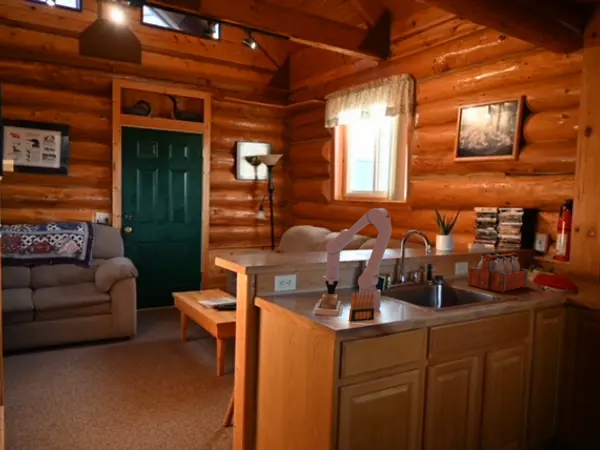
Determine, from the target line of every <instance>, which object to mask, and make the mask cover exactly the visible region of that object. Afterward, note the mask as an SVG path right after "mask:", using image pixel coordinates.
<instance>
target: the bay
mask: <svg viewBox="0 0 600 450" xmlns="http://www.w3.org/2000/svg"><path fill="white" fill-rule="evenodd" d="M343 310H344V305H341V300H337V306H336V309H325V308H322V298H320V299H319V300H318V302H316V303H315V306H314V309H313V310H312V313H311V314H312V315H320V316H321V315H324V316H332V317H333V316H335V317H342V315H343Z"/></svg>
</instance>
